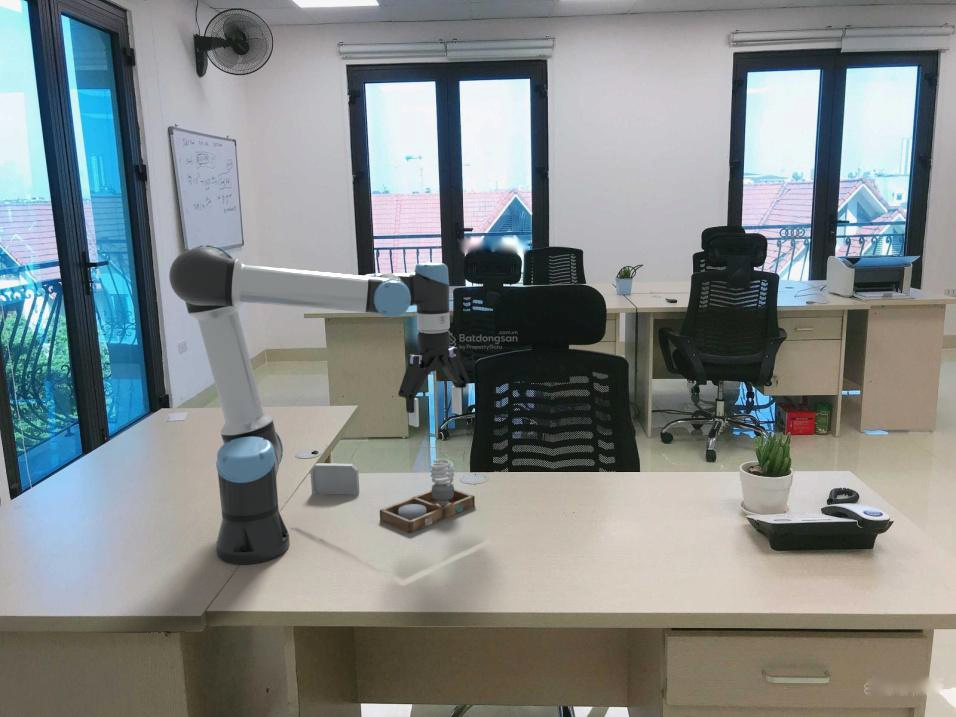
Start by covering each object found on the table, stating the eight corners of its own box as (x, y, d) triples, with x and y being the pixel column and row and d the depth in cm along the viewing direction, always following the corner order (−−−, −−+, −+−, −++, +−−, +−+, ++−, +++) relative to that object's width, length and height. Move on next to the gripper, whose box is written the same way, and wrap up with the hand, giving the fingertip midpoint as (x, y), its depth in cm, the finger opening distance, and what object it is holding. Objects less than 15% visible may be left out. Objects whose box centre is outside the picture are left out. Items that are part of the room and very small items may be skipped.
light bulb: (427, 508, 184) (425, 460, 181) (439, 500, 188) (437, 453, 186) (447, 512, 181) (446, 464, 178) (459, 504, 186) (458, 456, 183)
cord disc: (411, 527, 173) (411, 517, 173) (393, 519, 178) (392, 510, 177) (432, 518, 178) (432, 508, 177) (413, 511, 182) (413, 501, 182)
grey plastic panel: (357, 495, 196) (356, 465, 194) (311, 494, 197) (309, 465, 195) (359, 492, 198) (357, 463, 196) (313, 491, 199) (312, 462, 197)
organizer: (411, 537, 170) (410, 522, 170) (380, 524, 178) (379, 509, 177) (475, 509, 185) (475, 496, 184) (444, 498, 192) (443, 485, 191)
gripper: (402, 339, 166) (405, 434, 170) (483, 325, 183) (484, 411, 188) (380, 335, 171) (384, 427, 176) (461, 322, 189) (462, 406, 193)
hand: (435, 419), depth 182 cm, fingers open, 13 cm apart
